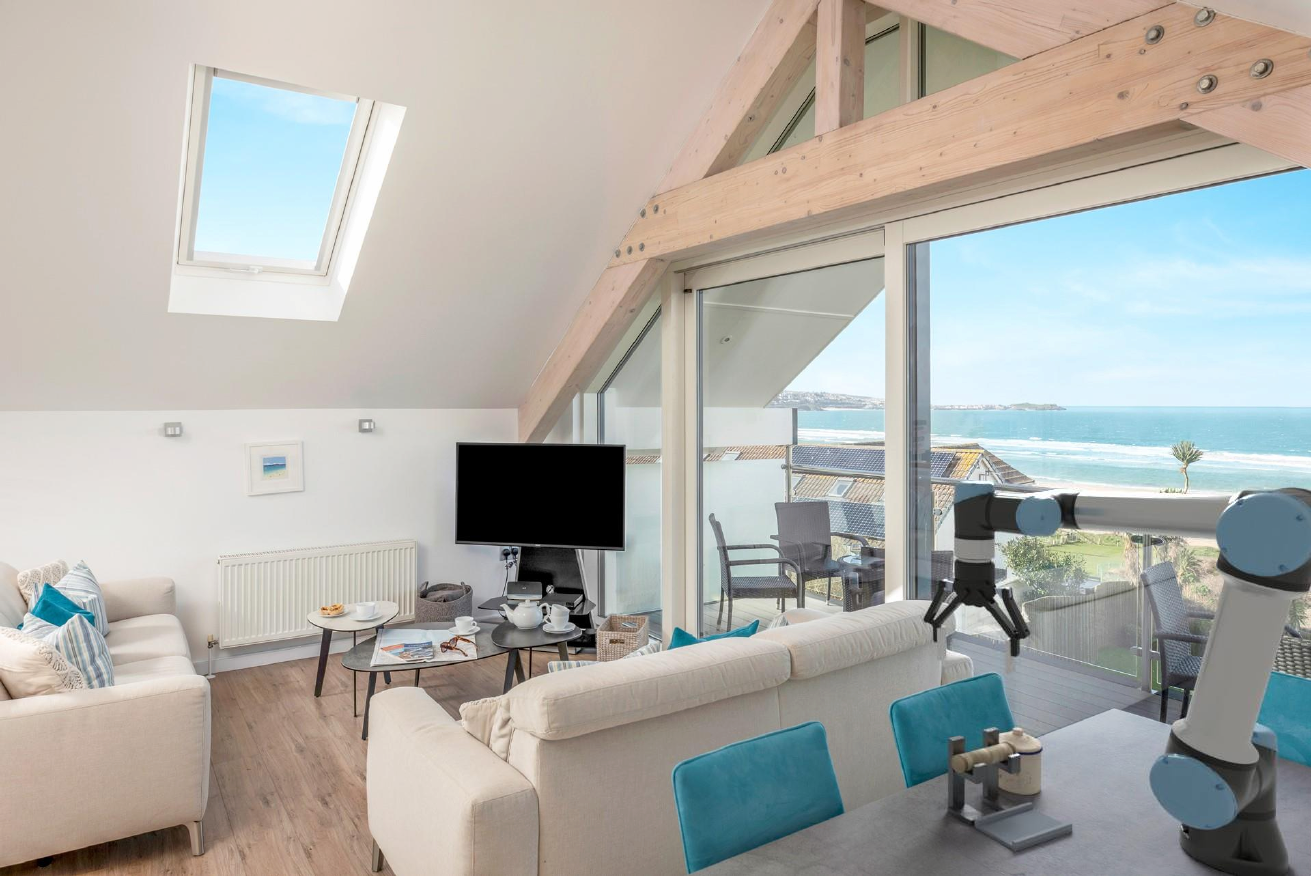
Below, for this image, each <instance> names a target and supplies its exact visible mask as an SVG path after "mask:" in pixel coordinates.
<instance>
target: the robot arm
mask: <svg viewBox="0 0 1311 876" xmlns="http://www.w3.org/2000/svg"><path fill="white" fill-rule="evenodd" d="M952 506H953V515H954V517H953V520H954V522H953V524H954V525H953V526H954V536H953V538H954V539H953V540H954V541H953V543H954V544H953V556H954V557H955V558H956V559H954V561H953V562H954V569H953V571H954V581H951V580H949V579H948V578H943V579H941V580H939V581H938V583H937V584H938V587H937V591H936V594H935V596H934V597H933V600H932V601H931V603H930V605H929V606H928V609H927V611H926V613H925V615H924V616H923V622H924V623H928V624H929V625H931V627H932V640H933V643H936V651H937V652H936V654H937V655H936V660H937V661H942V660H945V659H947V626H946V625H944V623H945V622H946V620H948V618H950V616H951V615H952V614H954V612H955V611H956V610H957V609H958V608H959V607H960V606H961V605H962V604H963V605H964V606H967V607H971V606H973V607H975V608H983V607H984V609H985V610H986V611H987V612H989V613H990V614H991V616H992V618H993V619H994V620H995V621H996V623H998V625H999V627H1000V628H1001V629H1002V630H1003V632H1004V633H1005V634H1006V635H1007V636H1008V638H1007V639H1005V675H1011V674H1012V673H1014V672H1015V671H1016V663H1015V662H1016V658H1017V657H1019V655H1020V653H1021V650H1020V649H1021V640H1025V639H1026V638H1028V637H1029V636H1031V631H1030V629H1029V627H1028V625H1027V623H1026V621H1025V618H1024V617H1023V615H1022V613H1021V611H1020V609H1019V606H1018V604H1017V602H1016V601H1015V598H1014V593H1013V588H1012V586H1006V587H1005V586H1004V587H997V585H996V562H995V561H994V559H995V557H996V555H995V553H996V546H995V545H996V538H995V536H996V535H995V533H996V532H997V533H1006V534H1007V533H1008V534H1015V535H1022V536H1029V537H1031V538H1036V537H1041V538H1042V537H1043V538H1048V537H1049V538H1050V537H1052V536H1054V535H1055V534H1056V531H1058V530H1061V529H1063V530H1077V531H1079V530H1082V531H1085V530H1086V531H1098V532H1110V533H1112V532H1113V533H1126V534H1137V535H1149V536H1151V535H1152V536H1161V537H1162V536H1163V537H1177V538H1191V539H1202V540H1205V539H1206V540H1216V543H1217V547H1218V549H1219V553H1218V557H1217V562H1216V565H1215V569H1216V571H1217V573H1219V575H1220V576H1221V577H1222V579H1223V584H1222V587H1221V592H1220V595H1219V599H1218V603H1217V605H1216V610H1215V613H1214V615H1213V621H1212V624H1211V626H1210V630H1209V635H1208V638H1207V641H1206V645H1205V649H1204V652H1203V653H1204V654H1203V656H1202V660H1201V662H1200V667H1199V669H1198V670H1199V671H1198V674H1197V678H1196V681H1195V685H1194V688H1193V692H1192V695H1191V699H1190V702H1189V707H1188V709H1187V710H1188V711H1187V714H1186V717H1184V718H1181V719H1177V720H1175V721H1174V722H1173V723H1172V726H1171V729H1170V732H1169V735H1168V738H1167V739H1168V740H1167V743H1166V747H1165V750H1164V753H1163V754H1162V755H1160V756H1158V758H1156V759H1155V760H1154V763H1152V766H1151V768H1150V770H1149V776H1148V778H1149V779H1148V780H1149V787H1150V789H1151V792H1152V793H1153V795H1154V797H1155V798H1156V800H1157V802H1158V803H1159V805H1160V807H1162V809H1164V810H1165V812H1166V813H1168V815H1170V816H1171V817H1172V818H1174V819H1175V820H1176V821H1178V822H1180V823H1181V824H1180V827H1179V844H1180V847H1182V849H1183V850H1184V851H1185V852H1186V853H1187V854H1188V855H1190V856H1191V857H1193V858H1194V859H1195V860H1198V861H1199V862H1201V863H1203V864H1205V865H1207V866H1210V867H1211V868H1215V869H1217V870H1219V871H1222V872H1226V873H1229V874H1232V875H1236V876H1284V875H1286V874H1287V872H1288V871H1289V852H1288V849H1287V847H1286V844H1285V841H1284V838H1283V835H1282V832H1281V830H1280V827H1279V824H1278V821H1277V790H1278V789H1277V786H1278V785H1277V784H1278V782H1277V779H1278V753H1279V747H1278V738H1277V735H1276V733H1275V731H1273V730H1272V729H1271V728H1269V727H1267V726H1265V725H1263V724H1260V723H1258V722H1257V721H1258V717H1259V714H1260V711H1261V709H1262V704H1263V700H1264V698H1265V694H1266V691H1267V688H1268V687H1267V686H1268V684H1269V681H1270V677H1271V674H1272V670H1273V667H1274V664H1275V661H1276V657H1277V653H1278V650H1279V646H1280V643H1281V640H1282V636H1283V634H1284V631H1285V627H1286V624H1287V620H1288V616H1289V615H1290V614H1289V613H1290V609H1291V606H1292V604H1293V600H1295V599H1296V598H1299V597H1301V596H1304V595H1306V594H1308V593H1310V590H1311V490H1310V489H1307V488H1303V487H1302V488H1301V487H1295V486H1293V487H1292V486H1290V487H1281V488H1275V489H1265V490H1262V489H1259V490H1255V489H1254V490H1253V489H1252V490H1251V489H1250V490H1249V489H1248V490H1247V489H1246V490H1245V489H1242V490H1240V491H1239V492H1238V493H1237V494H1235V495H1221V494H1220V495H1219V494H1218V495H1216V494H1214V495H1213V494H1191V493H1189V494H1186V493H1184V494H1183V493H1159V492H1155V493H1154V492H1126V491H1124V492H1123V491H1096V490H1093V491H1092V490H1075V489H1071V488H1054V489H1052V490H1047V491H1046V490H1045V491H1039V492H1031V493H1025V494H1023V493H1020V494H1018V493H1017V494H1016V493H1001V492H996V487H995V484H994V483H993V482H992V481H986V480H962V481H959V482H957V483H955V485H954V492H953V503H952ZM951 590H953V591H954V592H955V594H956V596H955V597H954V598H953V599H952V600H951V602H950V603H949V604H948V605H947V606H946V607H945V609H944V610H942V611H941V612H940V614H939V615H938V616H937V617H936V615H937V614H938V612H939V610H940V608H941V606H942V604H943V603H944V600H945V598H946V597H947V594H948V592H949V591H951ZM996 595H998V596H999V598H1000V599H1001V600H1002V603H1003V605H1004V607H1005V609H1006V611H1007V613H1008V615H1009V617H1010V618H1009V617H1008V616H1007V615H1006V613H1004V611H1003V609H1002V608H1001V607H1000V605H999V603H998V602H997V600H996V599H995V598H994V597H995V596H996ZM1010 619H1011V620H1010Z"/></svg>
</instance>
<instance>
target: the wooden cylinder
mask: <svg viewBox="0 0 1311 876" xmlns="http://www.w3.org/2000/svg"><path fill="white" fill-rule="evenodd" d="M1013 754H1018V751H1017V748H1016V746H1015V745H1014V744H1013V743H1012V742H1003V743H1001V744H998V745H994V746H990V747H986V748H983V747H982V748H978V749H976V750H975V749H974V750H972V751H968V752H965V753H963V754H957V755H954V756H953V757H952V759H951V763H952V767H953V768H954V770H955V771H956V772H958V773H961V772H965V771H969V770H972V769H973V765H976V764H980V763H984V764H986V766H987V765H990V764H994V763H998V762H1001V761H1005V760H1008V756H1010V755H1013Z"/></svg>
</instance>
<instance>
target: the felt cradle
mask: <svg viewBox="0 0 1311 876" xmlns="http://www.w3.org/2000/svg"><path fill="white" fill-rule="evenodd" d="M985 815H986V816H983V817H980V818H977V819H975V825H974V828H976V829H977V830H978V831H980V832H982V833H984V834H985V835H987V836H989V838H992V839H994V840H996V841H997V842H999V843H1000V844H1002V845H1004V846H1006V847H1007V848H1008V849H1011V850H1012V851H1015V852H1018V851H1021V850H1023V849H1026V848H1029V847H1033V846H1035V845H1037V844H1041V843H1044V842H1047V841H1050V840H1053V839H1055V838H1058V837H1061V836H1064V835H1068V834H1069V833H1072V832H1073V823H1072V822H1070V821H1068V822H1064V823H1063V822H1061V821H1059V820H1057V819H1055V818H1053V817H1051V816H1049V815H1047V814H1046V813H1043V812H1041V811H1040V810H1037V809H1036V808H1034V803H1033V802H1031V801H1028V802H1025V803H1021V804H1020V805H1018V806H1015V807H1012V808H1009V809H1006V810H1002V811H997V812H993V813H991V814H985Z"/></svg>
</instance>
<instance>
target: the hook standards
mask: <svg viewBox="0 0 1311 876" xmlns="http://www.w3.org/2000/svg"><path fill="white" fill-rule="evenodd" d="M999 734H1000V729H999V728H997V727H995V726H993V727H988V728H984V729H982V748H986V747H990V746H994V745H998V744H999ZM947 741H948V743H947V745H948V747H947V749H948V751H947V752H948V753H947V757H948V760H947V762H948V763H947V776H948V777H947V813H948V814H949V815H951V816H954V818H957V819H958V820H960V821H962V822H963V823H965V824H966V825H968V826H970V827H972V826H975V819H977V818H980V817H983V816H986V815H987V814H985V813H983V812H981V811H979V810H977V809H975V808H974V807H972V806H970V805H969V804H966V802H965V800H966V798H965V794H966V792H965V791H966V789H965V788H966V787H965V786H966V785H965V784H966V780H967V781H969V782H971V783H973V784H975V785H979V784H982V797H981V799H982V803H983V804H985V805H986V806H989V807H990V808H992V809H995V810H997V812H999V811H1002V810H1006V809H1009V808H1012V807H1015V806H1018V805H1021V804H1020V803H1018V802H1016V801H1015V800H1012V799H1010V798H1008V797H1006V796H1005V795H1003V794H1001V793H999V791H1000V790H999V789H1000V787H999V768H1000V769H1002V770H1004V771H1006V772H1008V773H1010V774H1014V773H1018V772H1021V755H1019V754H1013V755H1010V756H1008V760H1005V761H1001V762H998V763H994V764H990V765H987V766H986V764H984V763H980V764H976V765H973V769H972V770H969V771H965V772H961V773H958V772H956V771H955V770H954V768H953V767H952V763H951V759H952V757H953V756H954V755H957V754H963V753H966V737H964V736H962V735H956V736H953V737H949V738H948V740H947Z"/></svg>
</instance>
